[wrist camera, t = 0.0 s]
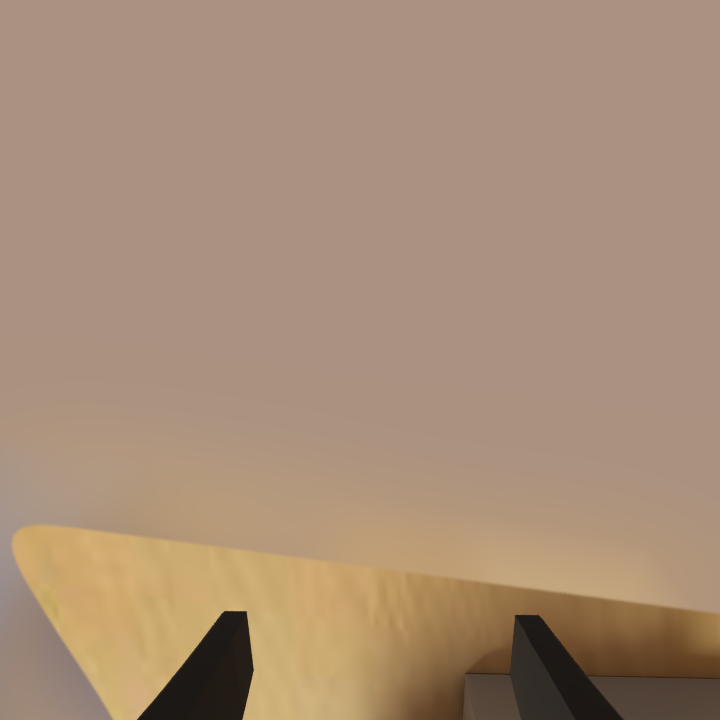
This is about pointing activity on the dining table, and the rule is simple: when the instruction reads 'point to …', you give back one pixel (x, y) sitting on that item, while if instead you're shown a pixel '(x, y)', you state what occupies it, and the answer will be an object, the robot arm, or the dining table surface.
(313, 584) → the dining table surface
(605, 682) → the control panel
